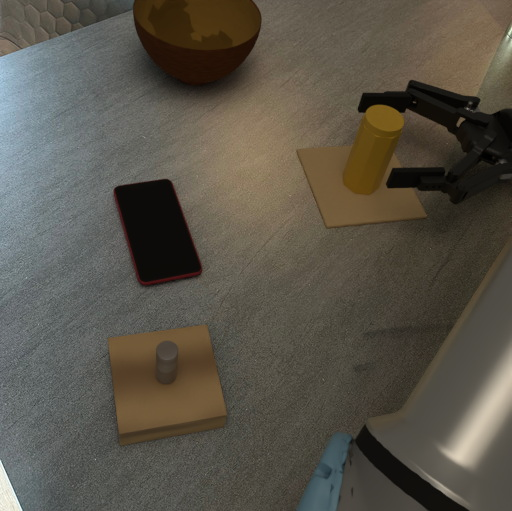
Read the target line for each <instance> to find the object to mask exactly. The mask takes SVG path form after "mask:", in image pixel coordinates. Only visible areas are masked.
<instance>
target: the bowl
mask: <svg viewBox="0 0 512 511" xmlns="http://www.w3.org/2000/svg"><path fill="white" fill-rule="evenodd" d="M132 15H133V23H134V28H135V31H136V35H137V36H138V39H139V41H140V43H141V46H142V47H143V49H144V51H145V52H146V54H147V55H148V57H149V58H150V60H151V61H152V62H153V63H154V64H155V65H156V66H157V67H158V68H159V69H160V70H162V71H163V72H165V73H166V74H168V75H169V76H171V77H173V78H175V79H177V80H178V81H180V82H182V83H184V84H187V85H191V86H201V85H205V84H209V83H210V82H215V81H219V80H221V79H223V78H226V77H227V76H229V75H231V74H232V73H233V72H234V71H236V70H237V69H238V68H239V67H241V65H242V64H243V63H244V62H245V60H247V58H248V57H249V55H250V54H251V52H252V51H253V49H254V48H255V45H256V43H257V41H258V38H259V35H260V32H261V28H262V23H263V22H262V20H263V18H262V13H261V10H260V8H259V7H258V5H257V4H256V3H255V1H254V0H134V1H133V4H132Z"/></svg>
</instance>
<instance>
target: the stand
mask: <svg viewBox="0 0 512 511" xmlns="http://www.w3.org/2000/svg"><path fill="white" fill-rule="evenodd" d="M107 346H108V356H109V364H110V372H111V373H110V374H111V380H112V390H113V398H114V407H115V416H116V423H117V432H118V440H119V442H118V443H119V446H120V447H122V446H129V445H135V444H139V443H144V442H151V441H156V440H161V439H166V438H171V437H172V438H173V437H177V436H184V435H187V434H194V433H199V432H205V431H211V430H216V429H222V428H225V426H226V422H227V418H228V412H227V406H226V403H225V402H226V401H225V399H224V393H223V390H222V389H223V388H222V385H221V380H220V376H219V372H218V367H217V363H216V358H215V353H214V349H213V345H212V340H211V336H210V332H209V327H208V324H207V323H206V324H205V323H204V324H199V325H192V326H185V327H177V328H170V329H162V330H155V331H154V330H153V331H148V332H141V333H133V334H125V335H119V336H111V337H107Z"/></svg>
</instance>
